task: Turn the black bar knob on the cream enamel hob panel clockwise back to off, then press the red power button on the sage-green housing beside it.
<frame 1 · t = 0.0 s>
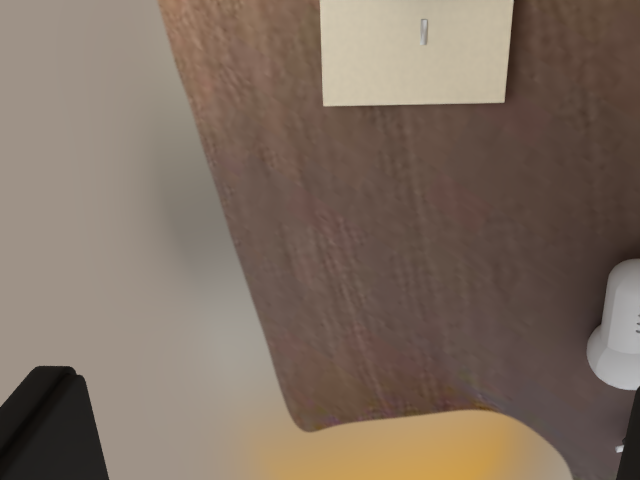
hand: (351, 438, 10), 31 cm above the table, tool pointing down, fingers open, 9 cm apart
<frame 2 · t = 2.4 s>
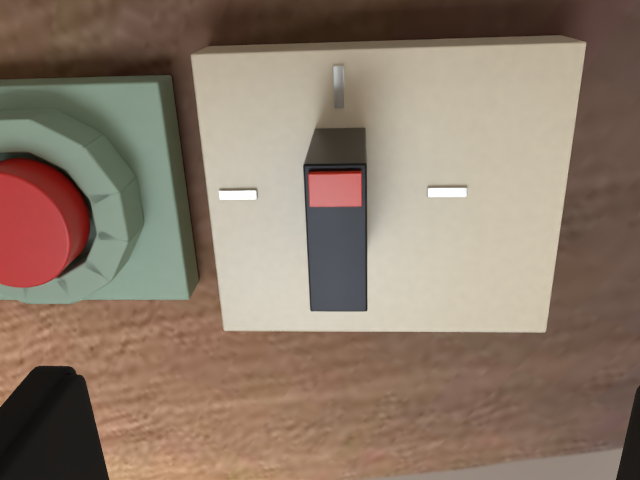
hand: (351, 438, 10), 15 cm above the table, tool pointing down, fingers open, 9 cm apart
power button: (20, 223, 21), point 4 cm above the table, slide at 0.1 cm
hob panel: (380, 183, 24), on the table
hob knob: (339, 216, 19), point 5 cm above the table, hinge at 90.0°
power switch: (70, 187, 25), on the table
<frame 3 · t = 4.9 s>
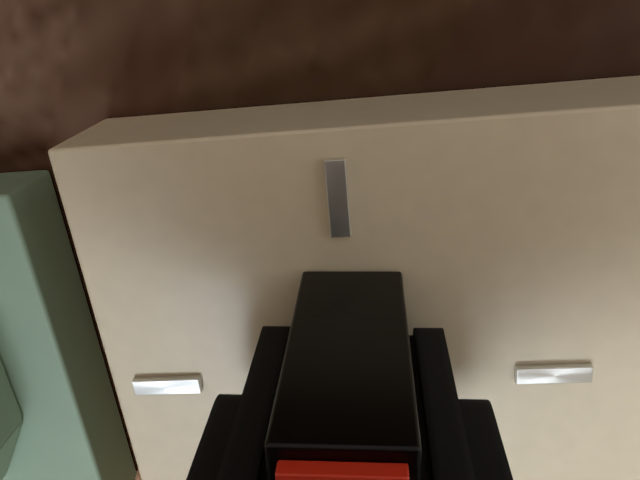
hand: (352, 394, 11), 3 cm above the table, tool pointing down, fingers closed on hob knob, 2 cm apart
hob panel: (420, 327, 14), on the table
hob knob: (350, 467, 10), point 5 cm above the table, hinge at 86.5°, touching gripper
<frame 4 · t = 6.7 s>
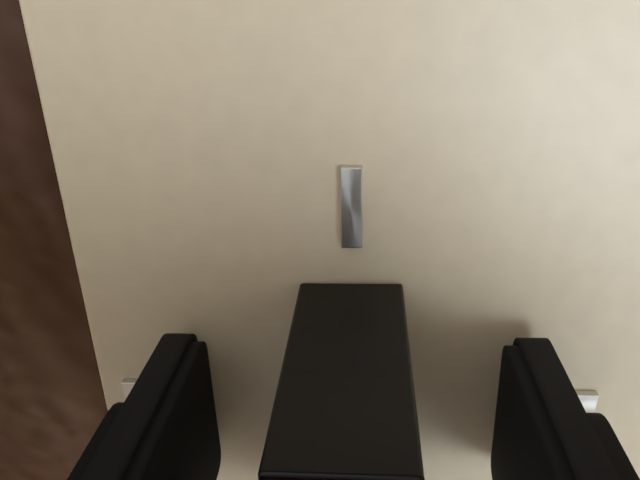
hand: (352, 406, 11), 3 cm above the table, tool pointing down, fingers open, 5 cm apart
hob panel: (377, 263, 13), on the table
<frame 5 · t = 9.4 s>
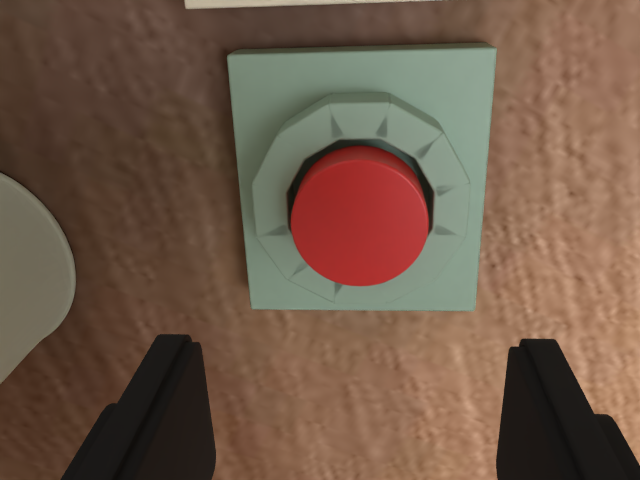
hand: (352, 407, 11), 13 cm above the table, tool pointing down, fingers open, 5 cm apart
power button: (359, 216, 20), point 4 cm above the table, slide at 0.1 cm
power switch: (360, 178, 23), on the table
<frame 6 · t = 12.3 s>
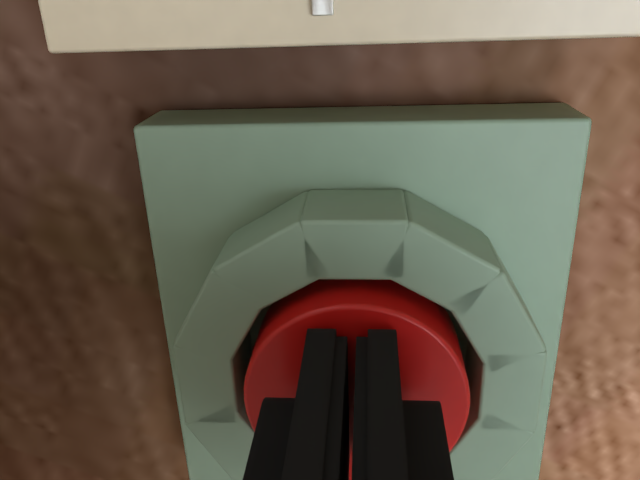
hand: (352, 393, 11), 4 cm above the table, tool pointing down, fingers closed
power button: (356, 377, 12), point 3 cm above the table, slide at -0.8 cm, touching gripper
power switch: (358, 303, 15), on the table
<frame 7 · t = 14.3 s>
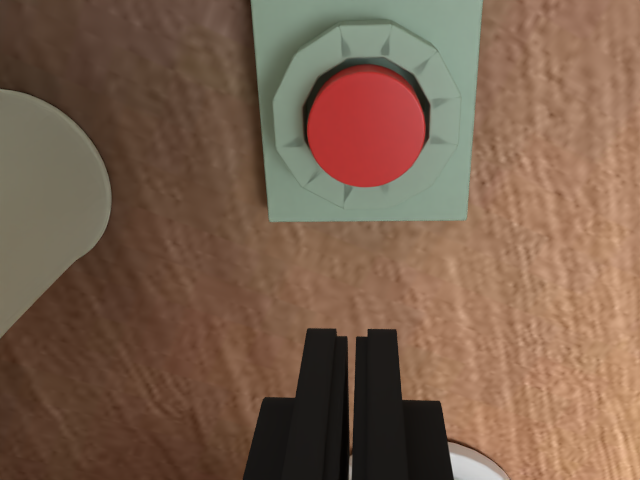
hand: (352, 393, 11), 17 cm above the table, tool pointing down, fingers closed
power button: (365, 126, 23), point 4 cm above the table, slide at 0.1 cm
can: (22, 181, 29), on the table
power switch: (365, 103, 26), on the table
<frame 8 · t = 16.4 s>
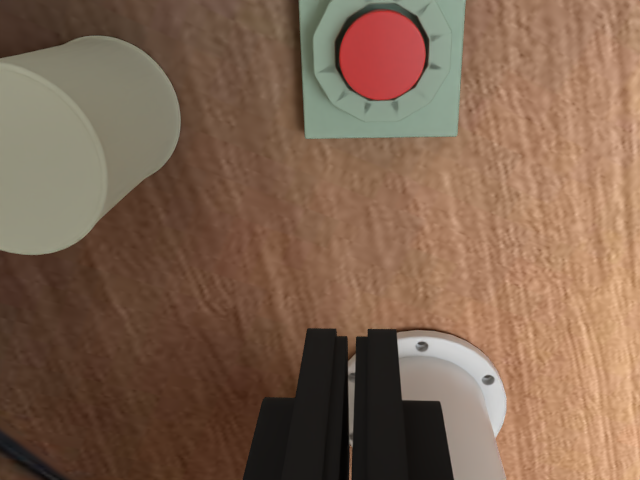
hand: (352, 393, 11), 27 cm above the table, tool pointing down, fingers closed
power button: (381, 54, 31), point 4 cm above the table, slide at 0.1 cm
can: (110, 111, 37), on the table
power switch: (380, 46, 34), on the table
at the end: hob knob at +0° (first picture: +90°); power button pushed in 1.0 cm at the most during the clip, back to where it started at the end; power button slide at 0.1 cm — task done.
